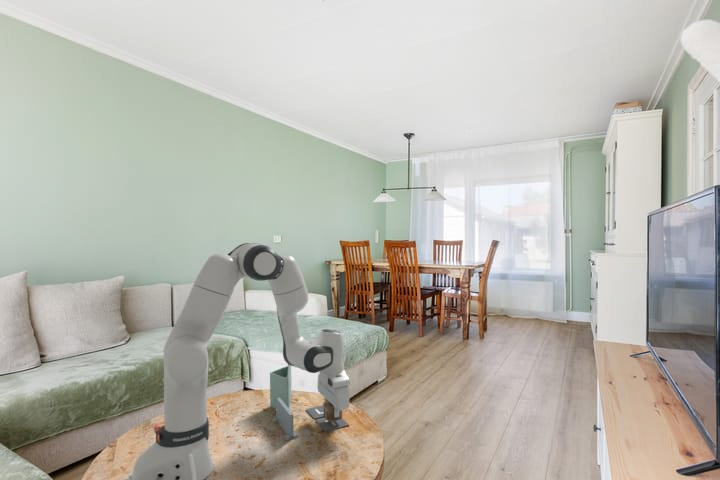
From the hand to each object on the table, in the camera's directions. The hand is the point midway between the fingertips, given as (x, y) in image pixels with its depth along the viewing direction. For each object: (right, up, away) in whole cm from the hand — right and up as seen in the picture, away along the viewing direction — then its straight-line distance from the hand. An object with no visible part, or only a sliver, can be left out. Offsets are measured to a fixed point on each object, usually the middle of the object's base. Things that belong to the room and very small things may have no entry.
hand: (332, 412), depth 134 cm
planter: (-22, -5, +15) cm, 27 cm away
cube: (0, -2, 0) cm, 2 cm away
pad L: (-5, -4, +9) cm, 11 cm away
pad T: (0, -4, 0) cm, 4 cm away
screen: (-17, -4, -3) cm, 17 cm away
